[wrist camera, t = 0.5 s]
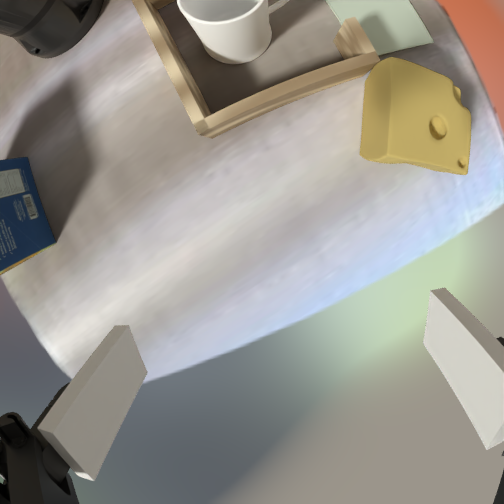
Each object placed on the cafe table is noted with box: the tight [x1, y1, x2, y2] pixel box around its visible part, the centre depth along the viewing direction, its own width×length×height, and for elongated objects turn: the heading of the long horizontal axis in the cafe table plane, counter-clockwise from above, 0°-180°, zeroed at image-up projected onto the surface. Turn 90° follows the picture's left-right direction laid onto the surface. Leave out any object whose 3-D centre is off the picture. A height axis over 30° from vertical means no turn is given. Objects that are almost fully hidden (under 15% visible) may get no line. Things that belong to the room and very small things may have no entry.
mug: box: [177, 0, 289, 64], centre depth 24 cm, size 12×8×12 cm
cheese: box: [360, 57, 471, 175], centre depth 27 cm, size 10×11×10 cm
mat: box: [325, 0, 434, 56], centre depth 27 cm, size 12×12×1 cm
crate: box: [132, 0, 381, 138], centre depth 26 cm, size 22×20×7 cm
